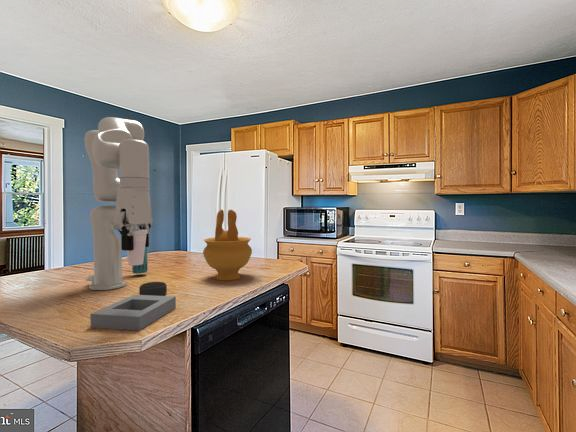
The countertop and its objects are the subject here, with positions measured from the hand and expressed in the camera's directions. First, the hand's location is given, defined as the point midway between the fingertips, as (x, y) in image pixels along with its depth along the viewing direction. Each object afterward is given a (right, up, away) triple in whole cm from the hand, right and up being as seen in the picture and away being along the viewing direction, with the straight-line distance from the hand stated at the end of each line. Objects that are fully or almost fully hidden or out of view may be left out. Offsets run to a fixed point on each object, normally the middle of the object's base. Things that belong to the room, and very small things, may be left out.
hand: (135, 248), depth 89 cm
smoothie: (0, -5, 0) cm, 5 cm away
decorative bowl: (+17, -18, +50) cm, 55 cm away
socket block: (0, -20, +1) cm, 20 cm away
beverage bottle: (-24, -18, +54) cm, 62 cm away
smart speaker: (-5, -19, +23) cm, 30 cm away
